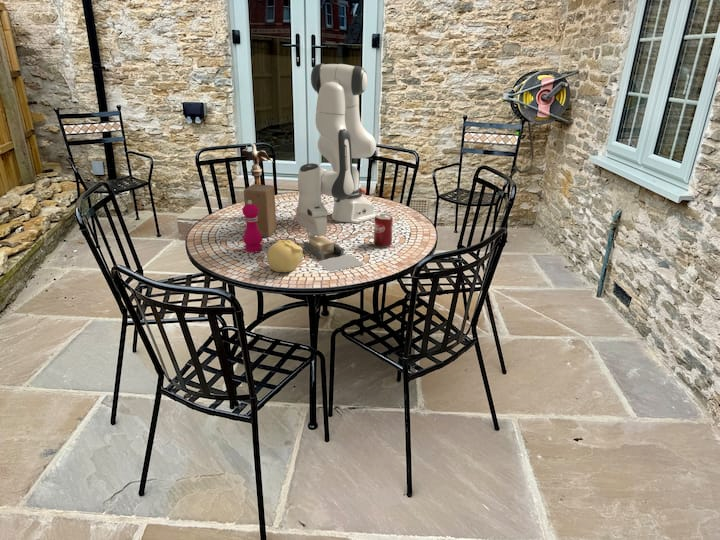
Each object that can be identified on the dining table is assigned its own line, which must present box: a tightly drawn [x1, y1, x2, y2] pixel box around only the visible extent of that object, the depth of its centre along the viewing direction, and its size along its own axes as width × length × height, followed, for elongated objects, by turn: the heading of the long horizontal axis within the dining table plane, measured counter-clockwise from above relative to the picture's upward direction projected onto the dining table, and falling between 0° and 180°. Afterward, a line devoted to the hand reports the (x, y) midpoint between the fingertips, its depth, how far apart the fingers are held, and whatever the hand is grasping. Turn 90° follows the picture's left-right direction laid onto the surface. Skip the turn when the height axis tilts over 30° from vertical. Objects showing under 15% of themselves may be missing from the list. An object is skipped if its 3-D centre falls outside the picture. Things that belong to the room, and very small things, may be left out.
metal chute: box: [303, 241, 345, 261], centre depth 185 cm, size 10×14×3 cm
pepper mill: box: [242, 200, 263, 253], centre depth 184 cm, size 7×7×20 cm
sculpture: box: [266, 239, 304, 273], centre depth 170 cm, size 12×12×11 cm
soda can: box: [373, 213, 394, 248], centre depth 193 cm, size 7×7×12 cm
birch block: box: [308, 235, 335, 254], centre depth 186 cm, size 6×9×4 cm, turn 32°
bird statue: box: [241, 142, 275, 185], centre depth 220 cm, size 17×13×35 cm
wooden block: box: [243, 183, 278, 238], centre depth 201 cm, size 10×10×20 cm
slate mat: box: [316, 254, 364, 274], centre depth 176 cm, size 14×10×1 cm
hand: (311, 239), depth 193 cm, fingers closed
